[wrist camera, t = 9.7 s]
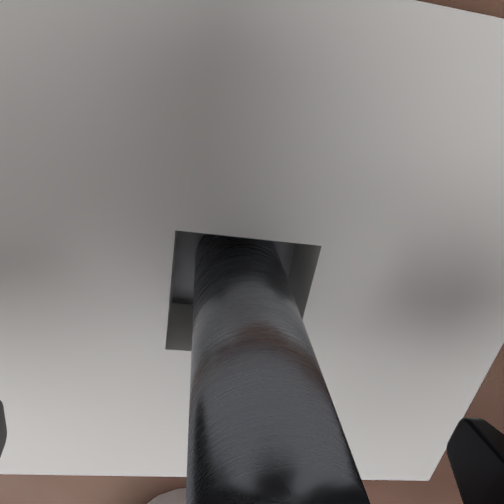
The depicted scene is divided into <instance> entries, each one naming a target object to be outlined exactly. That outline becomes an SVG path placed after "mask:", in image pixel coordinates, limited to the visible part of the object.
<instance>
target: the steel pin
mask: <svg viewBox="0 0 504 504" xmlns="http://www.w3.org/2000/svg"><path fill="white" fill-rule="evenodd" d="M186 504H370V502H369V499H368V496H367V494H366V491H365V488H364V485H363V483H362V480H361V477H360V475H359V472H358V469H357V466H356V464H355V461H354V458H353V456H352V453H351V450H350V448H349V445H348V442H347V439H346V437H345V434H344V431H343V429H342V426H341V423H340V420H339V418H338V415H337V412H336V410H335V407H334V404H333V401H332V399H331V396H330V393H329V391H328V388H327V385H326V383H325V380H324V377H323V374H322V372H321V369H320V366H319V364H318V361H317V358H316V355H315V353H314V350H313V347H312V345H311V342H310V339H309V336H308V334H307V331H306V328H305V326H304V323H303V320H302V318H301V315H300V312H299V309H298V307H297V304H296V301H295V299H294V296H293V293H292V290H291V288H290V285H289V282H288V280H287V277H286V274H285V271H284V269H283V266H282V263H281V261H280V258H279V255H278V252H277V250H276V247H275V244H274V242H273V241H271V240H261V239H252V238H242V237H233V236H223V235H214V234H205V235H204V236H203V237H202V239H201V240H200V242H199V244H198V246H197V249H196V253H195V272H194V298H193V324H192V349H191V375H190V401H189V427H188V453H187V479H186Z"/></svg>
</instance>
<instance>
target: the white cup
mask: <svg viewBox="0 0 504 504" xmlns="http://www.w3.org/2000/svg"><path fill="white" fill-rule="evenodd" d="M147 504H186V488H178V489H175V490H172V491H169V492H166V493H163V494H160V495H158V496H156V497H155V498H154V499H152V500H151V501H150V502H148V503H147Z"/></svg>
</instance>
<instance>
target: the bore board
mask: <svg viewBox="0 0 504 504" xmlns="http://www.w3.org/2000/svg"><path fill="white" fill-rule="evenodd" d="M205 234H214V235H223V236H233V237H242V238H252V239H261V240H271V241H273V242H274V244H275V247H276V250H277V252H278V255H279V258H280V261H281V263H282V266H283V269H284V271H285V274H286V277H287V280H288V282H289V285H290V288H291V290H292V293H293V296H294V299H295V301H296V304H297V307H298V309H299V312H300V315H301V318H302V320H303V323H304V326H305V328H306V331H307V334H308V336H309V339H310V342H311V345H312V347H313V350H314V353H315V355H316V358H317V361H318V364H319V366H320V369H321V372H322V374H323V377H324V380H325V383H326V385H327V388H328V391H329V393H330V396H331V399H332V401H333V404H334V407H335V410H336V412H337V415H338V418H339V420H340V423H341V426H342V429H343V431H344V434H345V437H346V439H347V442H348V445H349V448H350V450H351V453H352V456H353V458H354V461H355V464H356V466H357V469H358V472H359V475H360V477H361V480H420V481H429V479H430V477H431V476H432V474H433V472H434V470H435V468H436V466H437V465H438V463H439V461H440V459H441V457H442V455H443V453H444V452H445V450H446V448H447V443H448V441H449V439H450V437H451V435H452V433H453V431H454V430H455V428H456V426H457V424H458V422H459V421H460V420H461V419H462V418H463V417H464V415H465V413H466V411H467V409H468V407H469V406H470V404H471V402H472V400H473V398H474V396H475V395H476V393H477V391H478V389H479V387H480V385H481V383H482V382H483V380H484V378H485V376H486V374H487V372H488V371H489V369H490V367H491V365H492V363H493V361H494V360H495V358H496V356H497V354H498V352H499V350H500V348H501V347H502V345H503V343H504V19H503V18H498V17H493V16H488V15H483V14H479V13H474V12H469V11H464V10H460V9H455V8H450V7H445V6H440V5H436V4H431V3H426V2H421V1H416V0H0V400H1V401H2V403H3V406H4V413H5V420H6V426H7V438H6V443H5V446H4V449H3V452H2V454H1V457H0V474H34V475H98V476H162V477H187V453H188V427H189V401H190V375H191V349H192V324H193V298H194V272H195V253H196V249H197V246H198V244H199V242H200V240H201V239H202V237H203V236H204V235H205Z"/></svg>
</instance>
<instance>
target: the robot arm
mask: <svg viewBox="0 0 504 504" xmlns="http://www.w3.org/2000/svg"><path fill="white" fill-rule="evenodd" d="M6 438H7V426H6V420H5V413H4V406H3V403H2V401H1V400H0V457H1V454H2V452H3V449H4V446H5V443H6ZM447 455H448V458H449V461H450V464H451V468H452V471H453V474H454V477H455V480H456V483H457V486H458V489H459V492H460V495H461V498H462V501H463V504H504V434H502V433H501V432H500V431H498V430H497V429H496V428H494V427H493V426H492V425H490V424H489V423H488V422H486V421H485V420H483V419H480V418H462V419H461V420H460V421H459V422H458V424H457V426H456V428H455V430H454V431H453V433H452V435H451V437H450V439H449V441H448V443H447Z"/></svg>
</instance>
